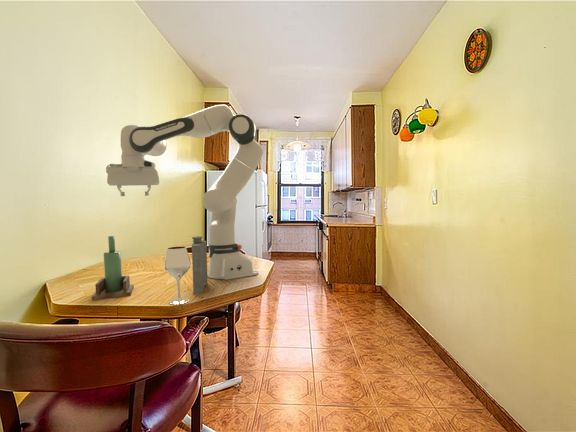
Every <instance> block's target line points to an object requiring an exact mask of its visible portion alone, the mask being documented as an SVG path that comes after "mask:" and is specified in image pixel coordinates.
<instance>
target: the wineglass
mask: <svg viewBox="0 0 576 432" xmlns="http://www.w3.org/2000/svg"><path fill="white" fill-rule="evenodd" d="M189 255H190V254H189V251H188V249H187V246H172V247H167V249H166V253H165V259H164V263H163V267H164V270H165V271H166V272H167V273H168V274H169V275H170V276H172V278H174V279H175V281H176V286H177V298H175V299H174V298H173V299H171V300H169V301H168V304H169V305H173V306H177V305H178V306H179V305H184V304H187V303H189V302H190V299H189V298H186V297H181V285H180V283H181V282H180V281H181V278H182V277H184V275H185V274H187V273H188V271H190V268H191V266H192V265H191V259H190V256H189Z"/></svg>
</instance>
